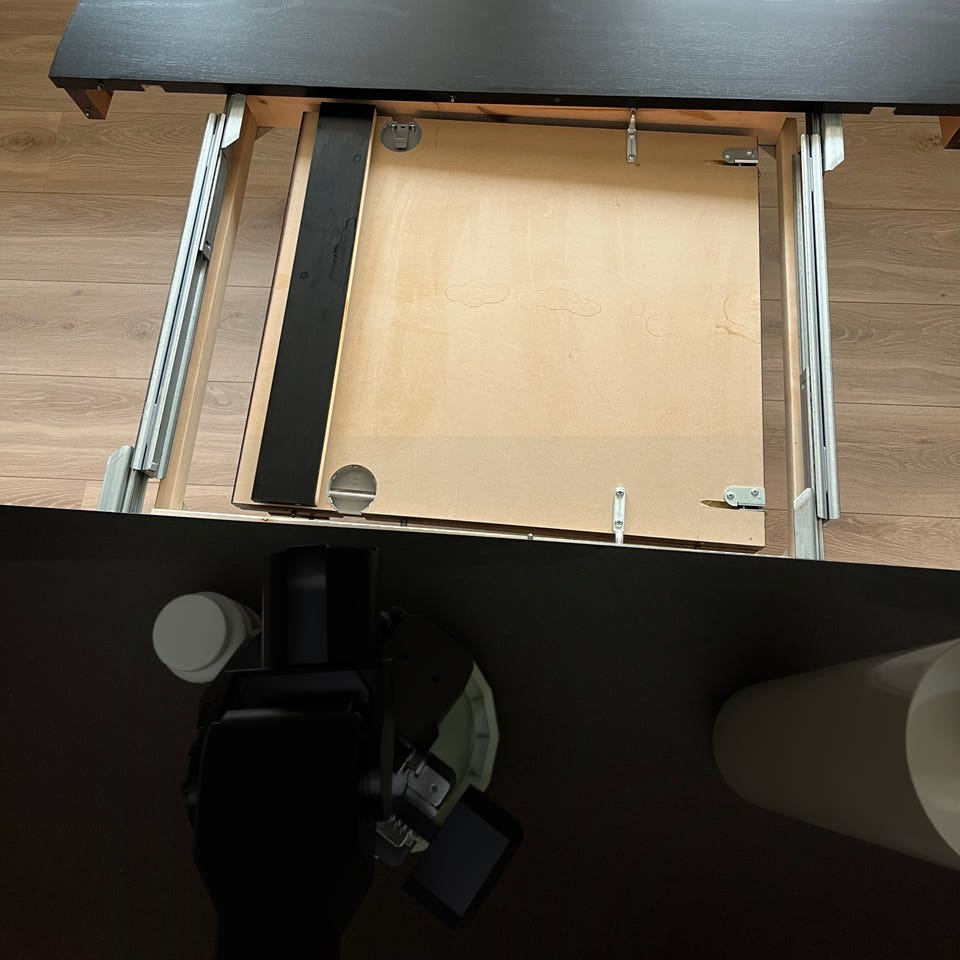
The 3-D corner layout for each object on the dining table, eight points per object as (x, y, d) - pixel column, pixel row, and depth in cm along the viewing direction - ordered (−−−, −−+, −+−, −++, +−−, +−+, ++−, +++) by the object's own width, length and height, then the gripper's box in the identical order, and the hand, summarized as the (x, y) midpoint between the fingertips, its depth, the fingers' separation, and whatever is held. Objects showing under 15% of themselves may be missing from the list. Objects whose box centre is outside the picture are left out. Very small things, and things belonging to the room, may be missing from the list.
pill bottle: (183, 682, 75) (133, 675, 65) (199, 599, 77) (153, 580, 67) (262, 691, 74) (223, 685, 65) (276, 607, 76) (241, 590, 67)
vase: (825, 823, 69) (1295, 968, 27) (703, 793, 70) (968, 886, 28) (838, 697, 72) (1284, 644, 29) (721, 670, 73) (986, 580, 30)
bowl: (472, 872, 69) (468, 882, 65) (267, 817, 71) (248, 823, 66) (518, 651, 74) (517, 646, 70) (325, 605, 76) (311, 597, 71)
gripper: (587, 749, 51) (575, 747, 66) (292, 527, 56) (342, 570, 71) (451, 962, 48) (470, 911, 63) (152, 709, 53) (234, 715, 68)
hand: (378, 766), depth 66 cm, fingers closed on stick, 2 cm apart
